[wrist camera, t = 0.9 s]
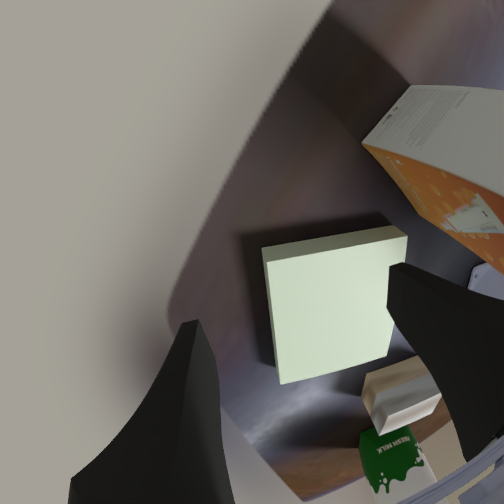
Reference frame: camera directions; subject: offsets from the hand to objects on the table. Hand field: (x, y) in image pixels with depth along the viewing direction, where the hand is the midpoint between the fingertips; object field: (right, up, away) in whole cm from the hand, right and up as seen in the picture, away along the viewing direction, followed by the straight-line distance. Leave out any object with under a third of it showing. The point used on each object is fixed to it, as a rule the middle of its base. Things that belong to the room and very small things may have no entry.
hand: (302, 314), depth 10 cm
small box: (+10, +9, +8) cm, 16 cm away
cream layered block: (+14, -12, +19) cm, 26 cm away
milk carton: (+18, -26, +26) cm, 41 cm away
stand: (+5, -2, +12) cm, 13 cm away
